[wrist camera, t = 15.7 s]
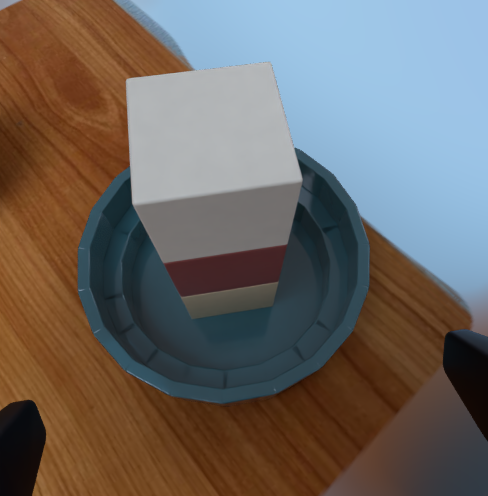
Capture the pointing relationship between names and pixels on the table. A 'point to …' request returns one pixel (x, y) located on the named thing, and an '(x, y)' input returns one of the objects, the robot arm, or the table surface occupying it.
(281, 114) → the red banded white pillar
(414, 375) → the table surface
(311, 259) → the shallow round tray
